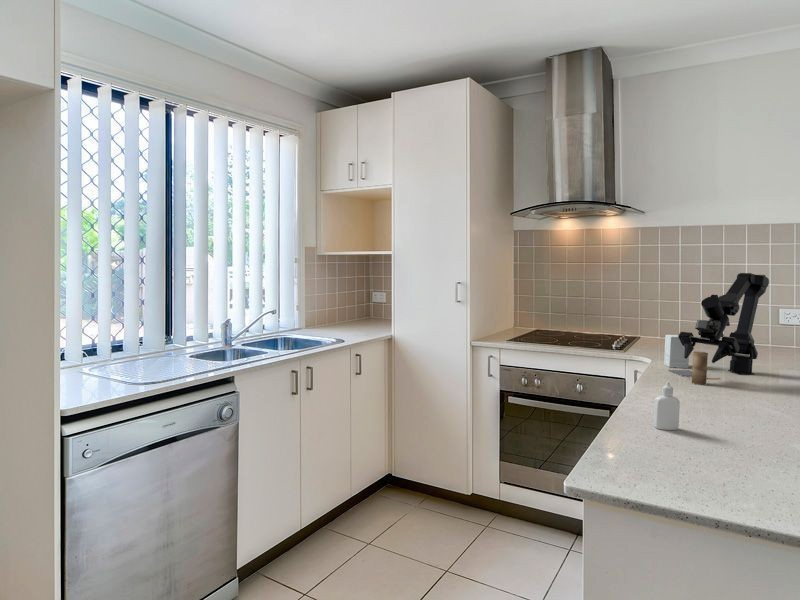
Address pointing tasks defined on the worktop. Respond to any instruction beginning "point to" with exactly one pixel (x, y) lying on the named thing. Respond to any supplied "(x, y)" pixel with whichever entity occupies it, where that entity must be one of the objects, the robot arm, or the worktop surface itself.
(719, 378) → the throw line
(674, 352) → the supplement box
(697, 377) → the pin
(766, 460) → the worktop surface
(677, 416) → the eye dropper bottle
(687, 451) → the worktop surface
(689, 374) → the mat
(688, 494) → the worktop surface
